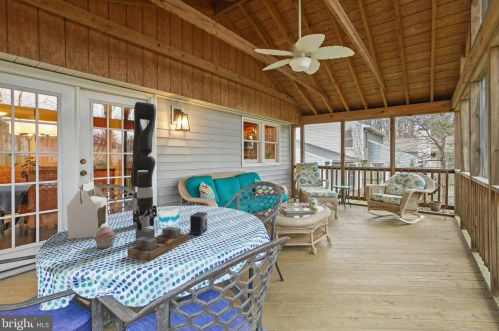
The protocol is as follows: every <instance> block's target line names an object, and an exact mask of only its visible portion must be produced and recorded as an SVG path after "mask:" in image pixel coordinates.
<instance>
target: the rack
mask: <svg viewBox="0 0 499 331" xmlns="http://www.w3.org/2000/svg"><path fill="white" fill-rule="evenodd" d="M161 229H162V230H161V232H162V233H161V234H158V235H157V236H156V235H155V237H154V238H146V237H141V238H139V239H136V238H135V245H134V246H131V247H130V248H127V258H130V259H131V258H132V259H136V260H142V261H147V262H151V261H153V260H155V259H157V258H159V257H161V256H163V255H165V254H167V252H168V253H169V251H172V250H173V249H175V248H177V247H179V246H180V245H182V244H184V243H187V241H188V234H187V233H181V232H182V230H181V229H182V228H180V227H174V226H173V227H172V226H165V227H163V228H161Z"/></svg>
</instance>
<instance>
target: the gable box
mask: <svg viewBox="0 0 499 331" xmlns="http://www.w3.org/2000/svg"><path fill="white" fill-rule="evenodd" d="M78 188H79V189H80V190H78V191H77V192H76V193H75V195H74V196H73V198H72V199H71V200H70V201H69V202H68V204H67V206H66V217H67V218H66V219H67V220H66V221H67V239H68V240H73V238H77V239H87V238H86V237H92V238H94V237H96V234H97V232H98V231H100V229H101V228H102V227H104V226H106V227H108V226H109V225H108V224H109V221H108V220H109V218H108V216H109V215H108V197H107V196H106V195H105V194H104V193H103V192H102V190H101V189H100V188H99V187H98V186H96V185H95V183H94V181H89V182H86V183H83V184H82V185H81V186H80V185H79V186H78Z"/></svg>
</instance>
